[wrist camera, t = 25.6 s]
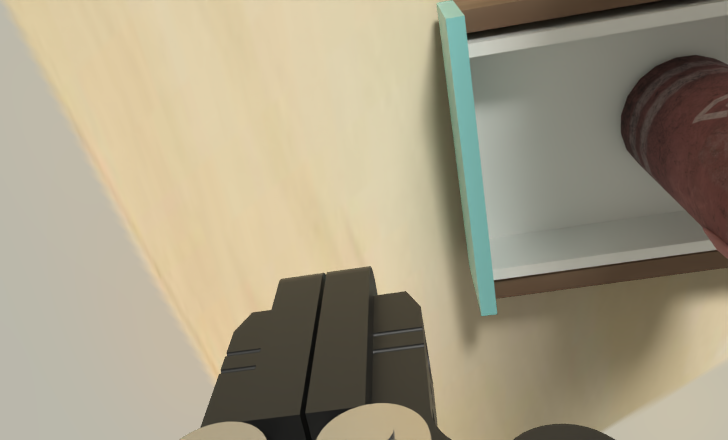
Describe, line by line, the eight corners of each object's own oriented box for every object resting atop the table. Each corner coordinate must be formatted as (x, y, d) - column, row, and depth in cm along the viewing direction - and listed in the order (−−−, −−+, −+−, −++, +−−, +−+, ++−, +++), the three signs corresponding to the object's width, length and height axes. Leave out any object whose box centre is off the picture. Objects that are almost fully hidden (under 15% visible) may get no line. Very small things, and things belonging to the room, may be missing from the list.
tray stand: (450, -3, 35) (460, 10, 31) (801, -64, 34) (866, -60, 29) (480, 255, 41) (493, 298, 37) (780, 213, 40) (832, 253, 35)
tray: (436, 2, 34) (445, 18, 29) (774, -56, 33) (843, -50, 28) (469, 266, 40) (481, 316, 35) (756, 226, 39) (811, 272, 34)
